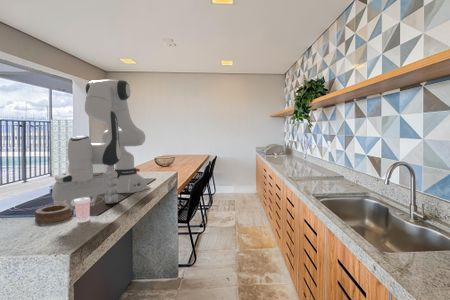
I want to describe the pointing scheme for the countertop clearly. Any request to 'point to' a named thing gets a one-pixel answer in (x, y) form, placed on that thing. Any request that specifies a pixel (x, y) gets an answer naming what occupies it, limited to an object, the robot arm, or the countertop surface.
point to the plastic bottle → (111, 185)
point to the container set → (64, 202)
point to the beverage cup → (82, 209)
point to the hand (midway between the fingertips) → (82, 207)
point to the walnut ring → (53, 213)
